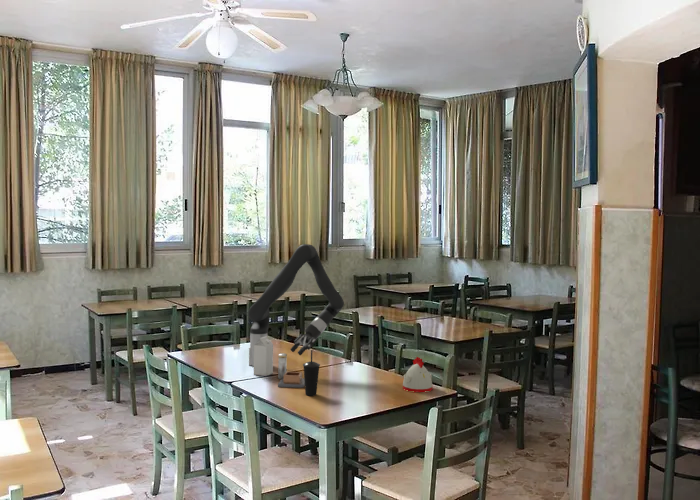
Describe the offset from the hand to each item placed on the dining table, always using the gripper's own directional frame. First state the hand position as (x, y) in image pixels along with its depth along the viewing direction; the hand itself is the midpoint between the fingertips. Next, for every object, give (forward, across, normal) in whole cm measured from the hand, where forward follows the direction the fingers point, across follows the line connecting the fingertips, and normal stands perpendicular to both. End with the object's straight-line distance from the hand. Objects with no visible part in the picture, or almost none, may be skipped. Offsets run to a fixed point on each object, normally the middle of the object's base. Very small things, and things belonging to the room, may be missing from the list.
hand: (295, 352), depth 313 cm
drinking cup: (+14, +33, +3) cm, 36 cm away
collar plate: (+14, +13, +3) cm, 19 cm away
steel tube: (+14, 0, +4) cm, 14 cm away
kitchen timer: (-21, +46, +38) cm, 63 cm away
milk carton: (+17, -12, 0) cm, 21 cm away
